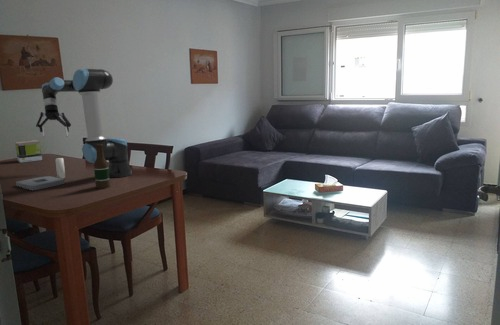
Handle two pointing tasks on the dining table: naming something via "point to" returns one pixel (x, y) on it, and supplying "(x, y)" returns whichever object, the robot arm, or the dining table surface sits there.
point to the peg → (60, 168)
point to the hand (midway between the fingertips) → (55, 136)
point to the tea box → (28, 151)
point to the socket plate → (40, 182)
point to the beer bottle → (101, 169)
